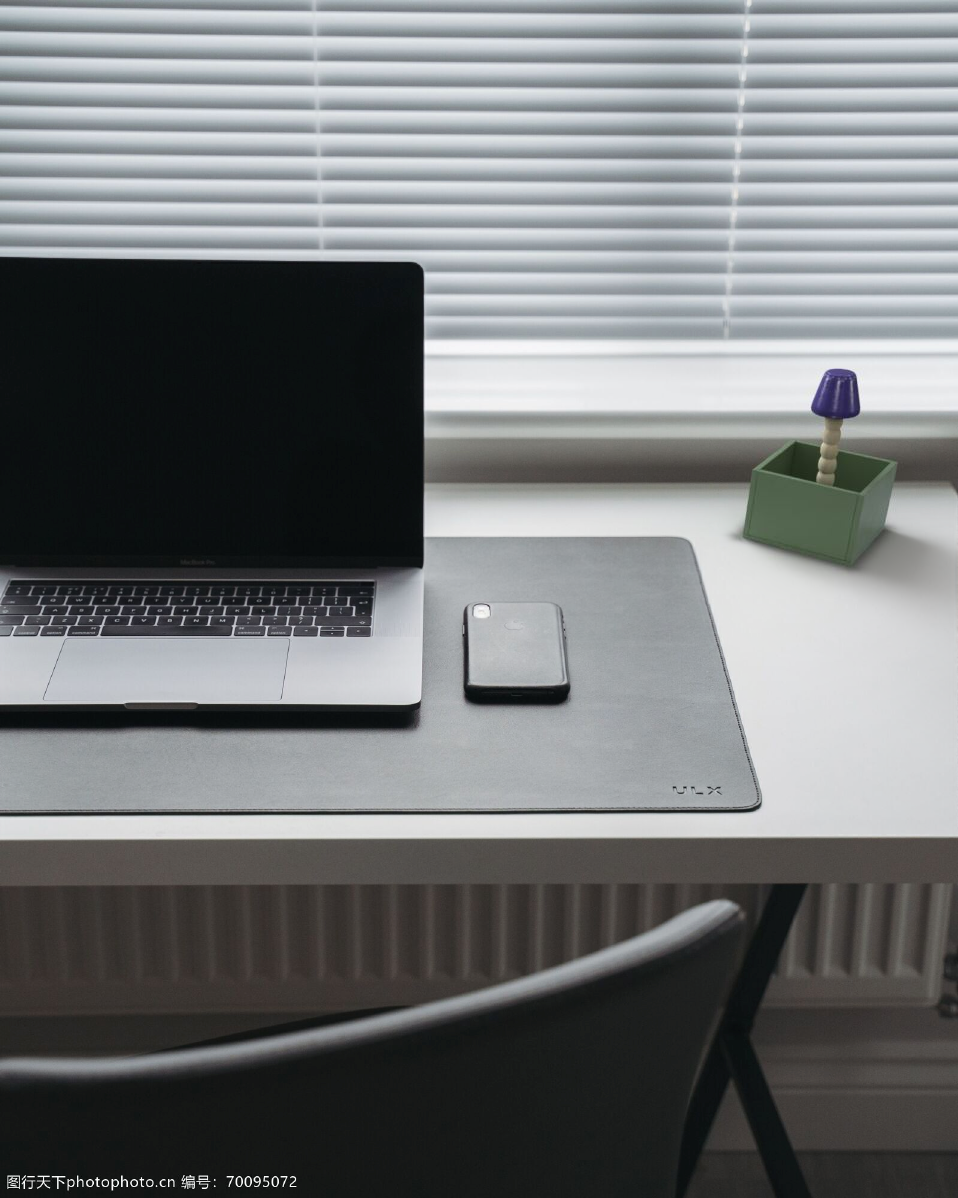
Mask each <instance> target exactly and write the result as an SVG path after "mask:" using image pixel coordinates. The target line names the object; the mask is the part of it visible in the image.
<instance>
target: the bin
mask: <svg viewBox="0 0 958 1198" xmlns="http://www.w3.org/2000/svg"><path fill="white" fill-rule="evenodd" d="M821 445H822V444H818V443H814V442H813V443H812V442H809V441H803V440H799V439H794V438H792V439H790V440H789V441H788V442H786V443H785V444H784V445H783V446H781V447H780V448H778V449H777V450H775V452H774V453H772V454H771V455H770V456H768V457H767V458H765V460H763V461H762V462H761V463H759V464H758V465H756V467H754V468H752V470H751V477H750V483H749V490H748V496H747V505H746V512H745V518H744V524H743V531H742V538H743V539H747V540H751V541H755V542H758V543H761V544H766V545H769V546H772V547H776V548H781V549H784V550H788V551H792V552H795V553H799V554H803V555H806V556H810V557H813V558H817V559H821V560H825V561H830V562H832V563H836V564H840V565H844V566H847V567H851V566H852V565H853V564H854V563H855V562H856V561H857V560H858V559H859V557H860V556H861V555H862V554H863V553H864V552H865V550H867V549H868V548H869V546H870V545H871V544H872V543H873V541H874V540H876V538H878V536H879V535H880V534H881V533H882V532H883V530H884V529H885V527H886V526H885V524H886V521H887V515H888V512H889V508H890V507H889V506H890V502H891V498H892V492H893V488H894V484H895V479H896V474H897V469H898V464H899V462H898V461H895V460H890V459H887V458H881V457H877V456H872V455H867V454H864V453H859V452H853V451H849V450H846V449H840V448H839V451H838V454H837V456H836V461H837V465H836V469H835V471H834V476H835V480H834V484H833V486H829V485H824V484H820V483H817V480H816V479H817V474H818V472H819V468H818V463H819V460H820V458H821V453H820V450H821Z"/></svg>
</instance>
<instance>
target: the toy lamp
mask: <svg viewBox="0 0 958 1198" xmlns="http://www.w3.org/2000/svg"><path fill="white" fill-rule="evenodd" d="M858 384H859V383H858V377H857V373H856V372H854V371H853V370H851V369H848V368H847V369H846V368H830V369H827V370H826V371H825V372H824V373H823V375H822V376H821V380H820V382H819V384H818V386H817V389H816V392H815V394H814V397H813V400H812V402H811V405H810V410H811V412H812V413H813V414H814V415H816V416H818V417H822V418H824V426H825V427H824V429H823V432H822V436H821V437H822V443H821V444H820V445H821V450H820V453H821V458H820V460H819V463H818V468H819V472H818V474H817V479H816V480H817V483H820V484H824V485H829V486H833V484H834V480H835V476H834V471H835V469H836V465H837V461H836V456H837V454H838V451H839V449H840V447H839V442H840V440H841V436H842V431H841V428H842V426H843V423H844V420H845V419H853V418H856V417H857V416H859V415H860V413H861V400H860V392H859V385H858Z"/></svg>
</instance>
